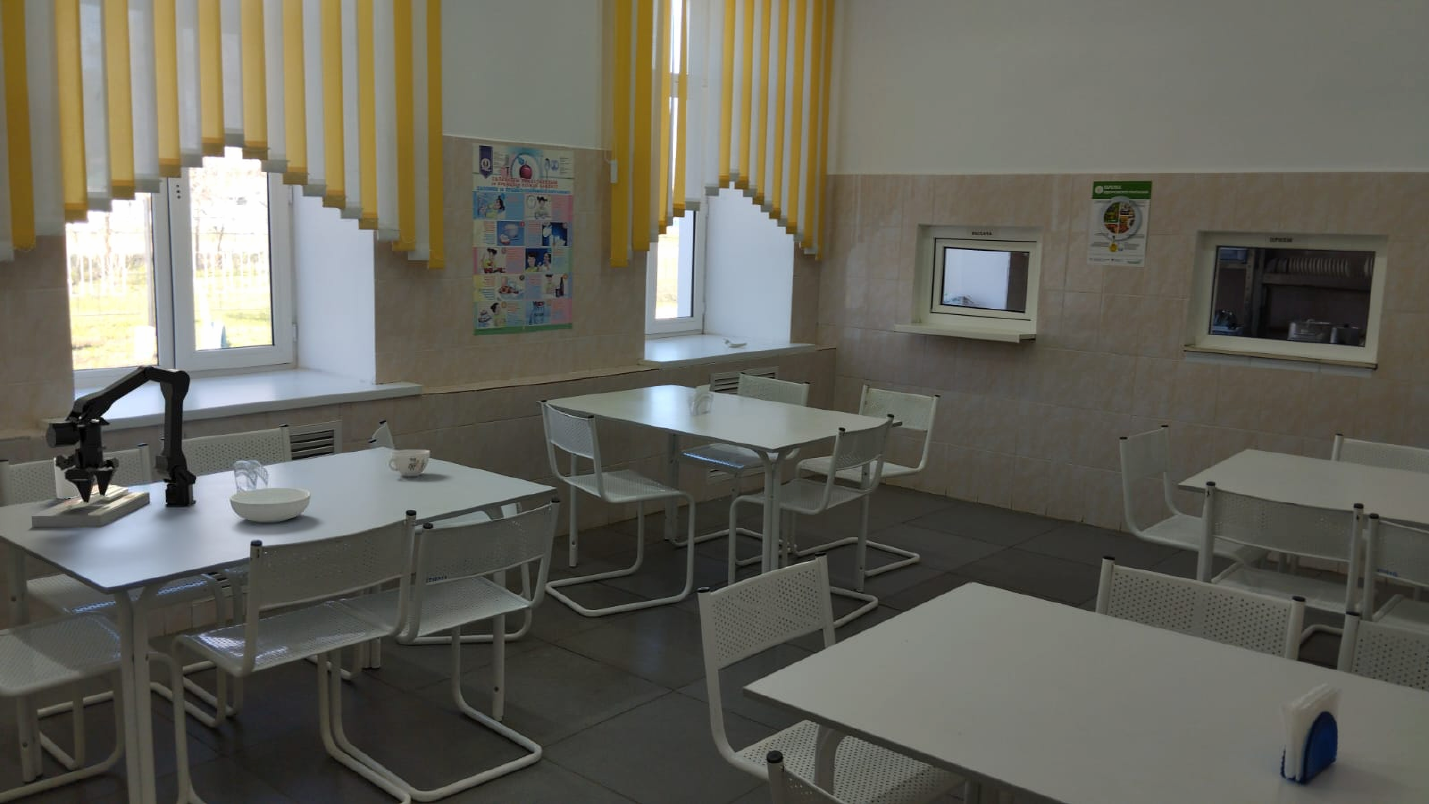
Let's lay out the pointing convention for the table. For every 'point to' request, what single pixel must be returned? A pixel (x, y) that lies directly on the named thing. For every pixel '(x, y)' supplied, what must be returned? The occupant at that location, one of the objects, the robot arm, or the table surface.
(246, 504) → the serving bowl
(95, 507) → the switch panel
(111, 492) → the cream slotted panel
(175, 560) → the table surface
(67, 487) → the mug
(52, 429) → the robot arm
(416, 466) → the teacup
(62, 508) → the rocker
